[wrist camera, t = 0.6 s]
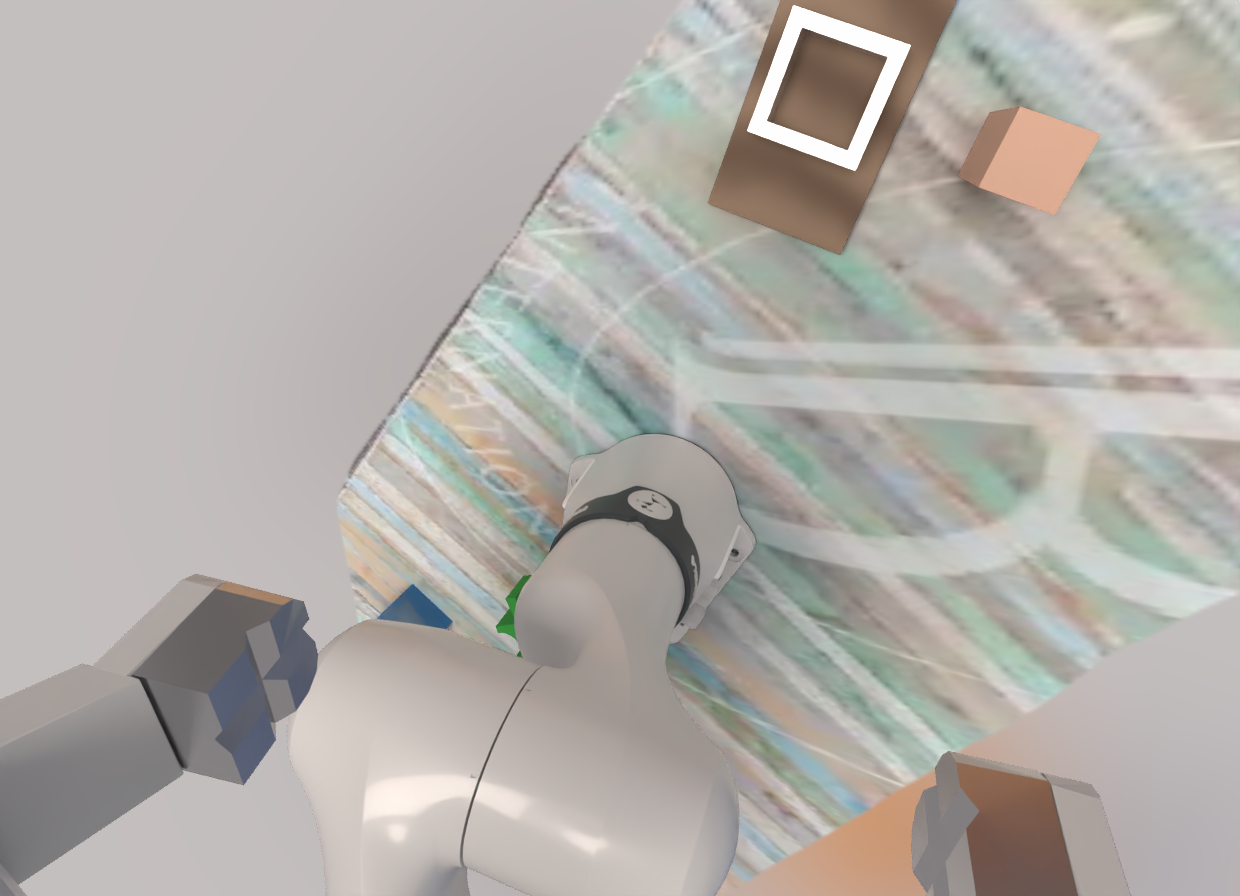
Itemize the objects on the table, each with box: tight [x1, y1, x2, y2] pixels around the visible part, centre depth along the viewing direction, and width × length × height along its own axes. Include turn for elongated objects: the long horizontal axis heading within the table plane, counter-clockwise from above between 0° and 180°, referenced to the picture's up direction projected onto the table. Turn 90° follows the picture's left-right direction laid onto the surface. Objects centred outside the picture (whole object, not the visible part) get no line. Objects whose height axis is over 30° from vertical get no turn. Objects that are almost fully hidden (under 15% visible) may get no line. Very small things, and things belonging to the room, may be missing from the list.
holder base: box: [708, 0, 956, 255], centre depth 54 cm, size 20×11×1 cm, turn 161°
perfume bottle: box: [377, 584, 453, 629], centre depth 82 cm, size 6×6×12 cm
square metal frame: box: [748, 6, 911, 171], centre depth 52 cm, size 8×8×4 cm
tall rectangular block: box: [958, 106, 1101, 215], centre depth 47 cm, size 4×4×13 cm
